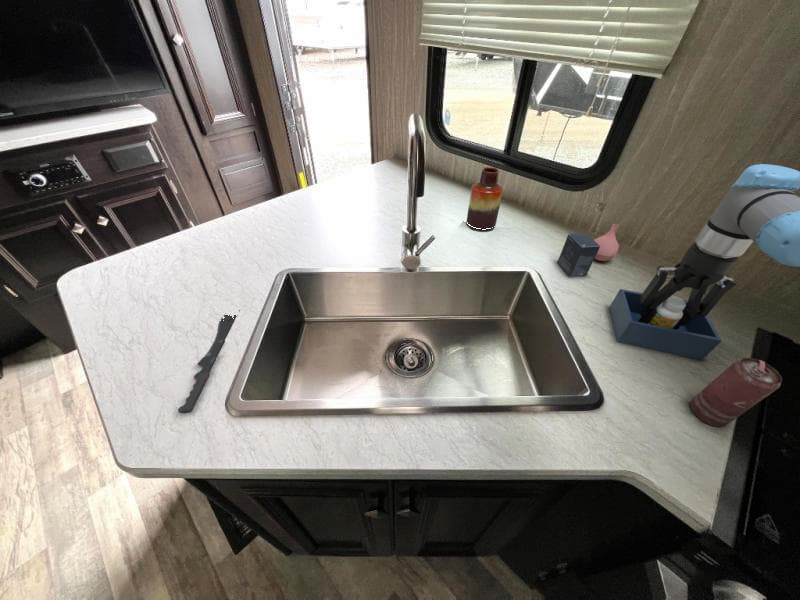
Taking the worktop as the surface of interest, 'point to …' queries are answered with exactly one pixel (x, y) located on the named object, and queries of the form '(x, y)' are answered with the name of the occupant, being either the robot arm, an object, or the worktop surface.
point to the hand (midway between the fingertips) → (654, 329)
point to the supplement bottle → (668, 313)
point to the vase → (485, 201)
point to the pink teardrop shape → (607, 245)
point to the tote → (661, 329)
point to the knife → (208, 362)
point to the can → (735, 391)
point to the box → (578, 254)
